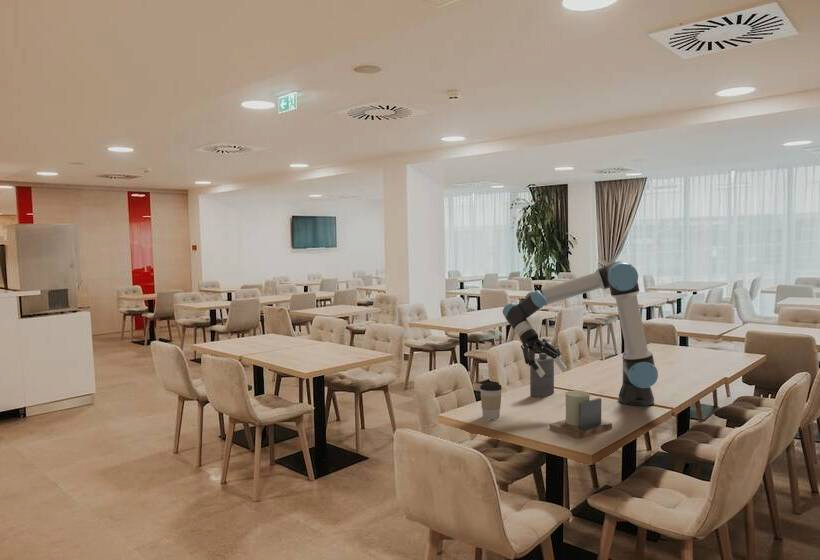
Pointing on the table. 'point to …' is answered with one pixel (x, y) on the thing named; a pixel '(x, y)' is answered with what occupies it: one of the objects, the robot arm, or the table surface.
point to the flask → (545, 383)
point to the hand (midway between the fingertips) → (554, 373)
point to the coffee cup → (490, 399)
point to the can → (574, 406)
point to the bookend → (590, 415)
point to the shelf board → (577, 429)
